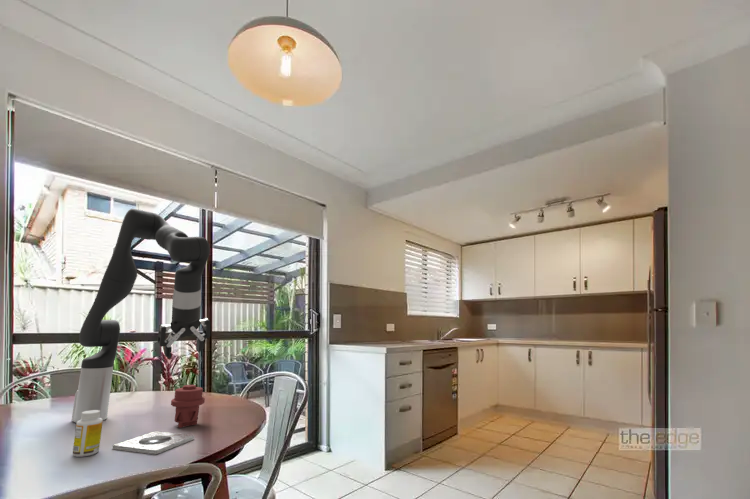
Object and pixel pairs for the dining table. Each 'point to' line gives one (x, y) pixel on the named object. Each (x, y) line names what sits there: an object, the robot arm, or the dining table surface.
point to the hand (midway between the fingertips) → (183, 354)
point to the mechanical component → (187, 404)
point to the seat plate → (153, 442)
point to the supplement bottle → (87, 434)
